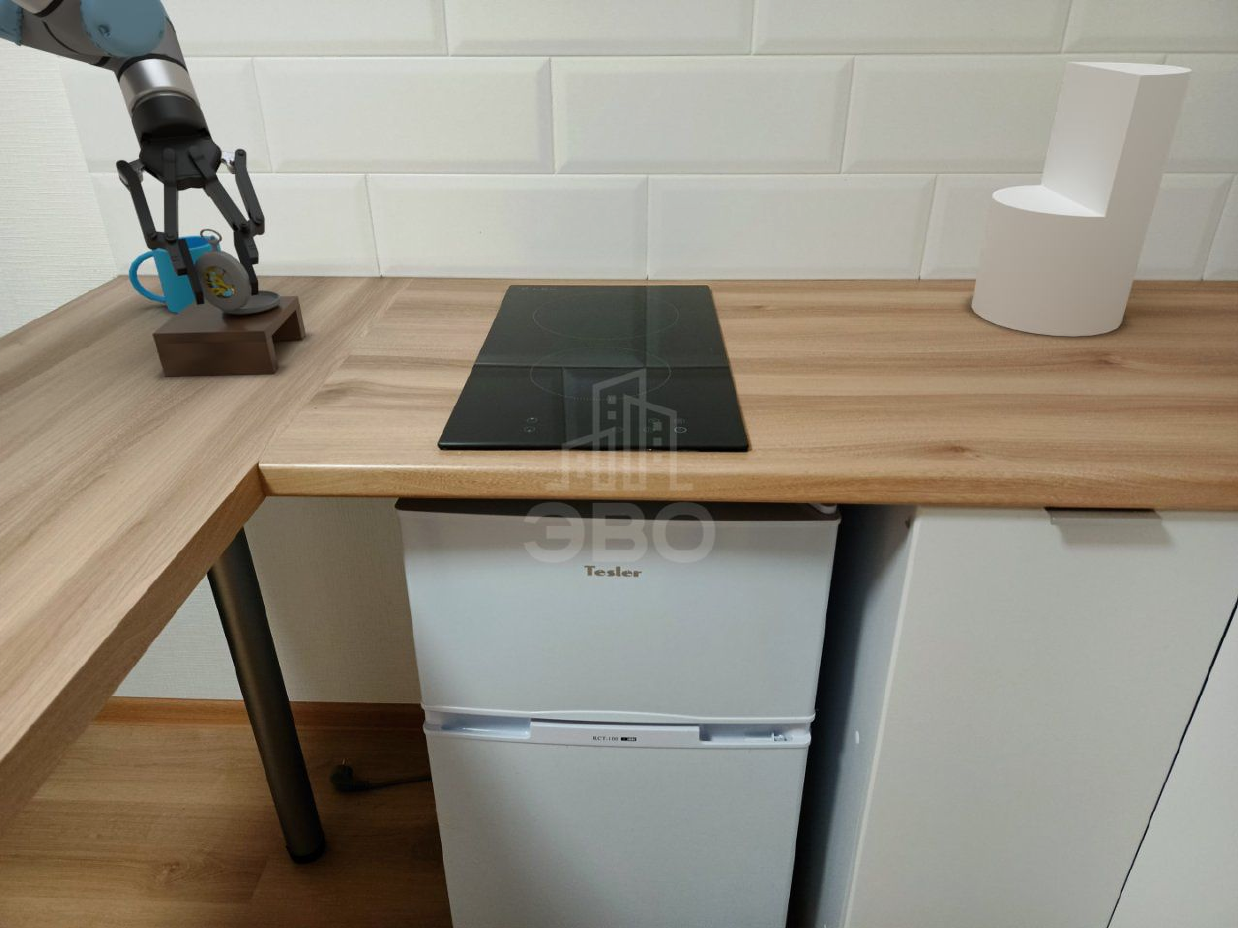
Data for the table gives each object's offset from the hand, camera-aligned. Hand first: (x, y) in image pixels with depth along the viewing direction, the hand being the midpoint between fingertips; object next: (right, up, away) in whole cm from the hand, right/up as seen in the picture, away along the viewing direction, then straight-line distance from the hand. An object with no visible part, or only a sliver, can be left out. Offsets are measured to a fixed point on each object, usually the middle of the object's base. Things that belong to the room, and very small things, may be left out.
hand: (227, 293), depth 93 cm
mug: (-16, +3, +23) cm, 29 cm away
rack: (-2, -6, +7) cm, 9 cm away
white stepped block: (+96, 0, +15) cm, 97 cm away
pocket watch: (-1, -1, +5) cm, 5 cm away
